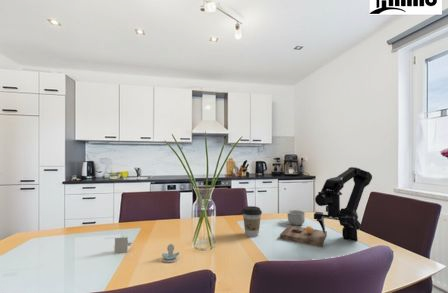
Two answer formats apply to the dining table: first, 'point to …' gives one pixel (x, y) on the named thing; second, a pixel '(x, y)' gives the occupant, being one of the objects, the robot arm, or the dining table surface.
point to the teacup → (296, 217)
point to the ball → (309, 229)
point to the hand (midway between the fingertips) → (334, 234)
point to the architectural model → (121, 245)
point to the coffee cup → (251, 220)
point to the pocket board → (304, 236)
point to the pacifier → (170, 254)
